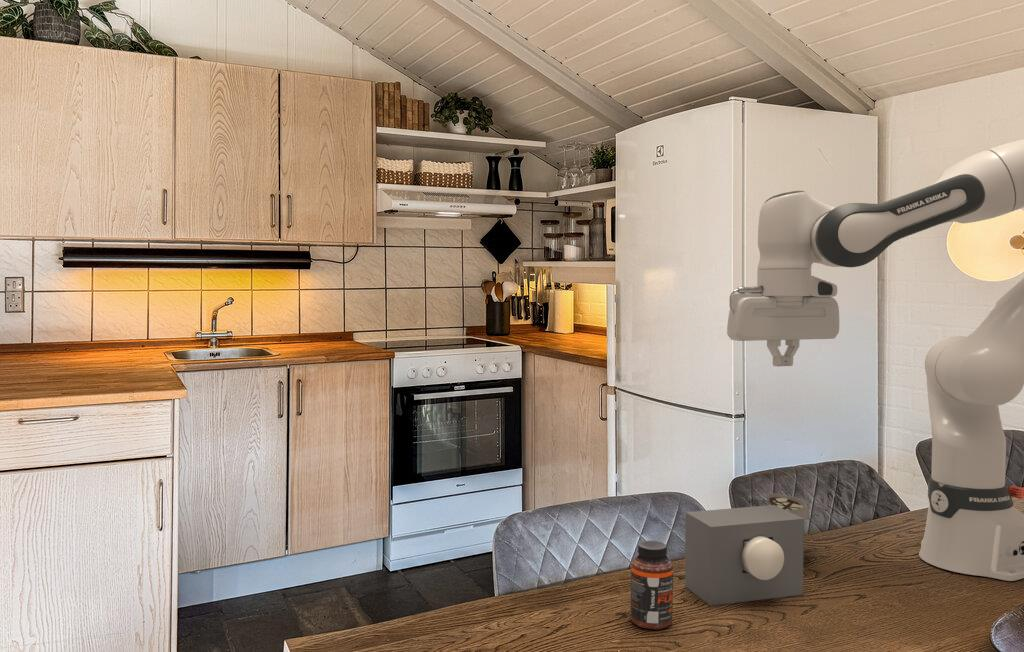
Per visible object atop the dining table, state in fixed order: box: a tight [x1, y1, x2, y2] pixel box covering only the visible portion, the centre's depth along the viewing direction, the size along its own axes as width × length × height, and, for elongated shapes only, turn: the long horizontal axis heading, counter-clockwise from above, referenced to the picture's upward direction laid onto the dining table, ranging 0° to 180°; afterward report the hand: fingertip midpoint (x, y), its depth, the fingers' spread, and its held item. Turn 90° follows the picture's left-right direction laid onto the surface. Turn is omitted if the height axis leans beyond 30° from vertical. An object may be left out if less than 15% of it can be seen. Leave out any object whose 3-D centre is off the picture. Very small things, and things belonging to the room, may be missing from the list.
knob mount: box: [684, 505, 805, 607], centre depth 124 cm, size 16×8×12 cm, turn 105°
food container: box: [767, 492, 810, 527], centre depth 138 cm, size 12×6×10 cm, turn 168°
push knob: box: [742, 536, 784, 580], centre depth 121 cm, size 6×8×6 cm
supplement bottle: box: [630, 540, 674, 631], centre depth 112 cm, size 6×6×11 cm
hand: (782, 366), depth 136 cm, fingers closed
